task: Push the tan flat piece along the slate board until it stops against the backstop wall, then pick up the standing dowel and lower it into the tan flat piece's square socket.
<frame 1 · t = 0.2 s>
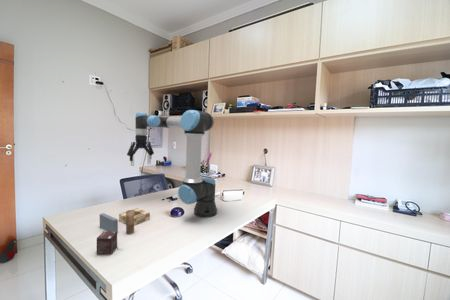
hand: (141, 164, 149), 28 cm above the table, fingers open, 13 cm apart
dowel: (130, 234, 104), on the table
box: (107, 251, 90), on the table
board wall: (128, 224, 115), on the table
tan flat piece: (134, 216, 118), point 3 cm above the table, slide at 0.0 cm
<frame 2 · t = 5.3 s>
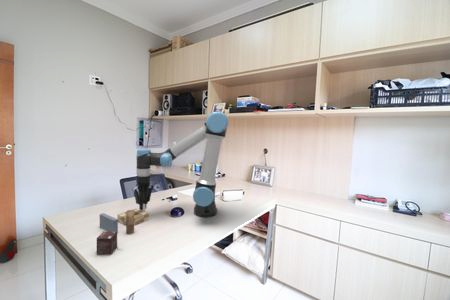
hand: (142, 214, 123), 3 cm above the table, fingers closed
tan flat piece: (133, 217, 117), point 3 cm above the table, slide at 0.9 cm, touching gripper
everything else where it was.
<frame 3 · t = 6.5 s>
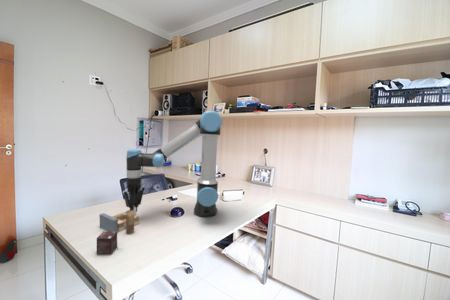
hand: (133, 218, 118), 3 cm above the table, fingers closed
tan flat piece: (122, 221, 112), point 3 cm above the table, slide at 7.0 cm, touching gripper
everything else where it was.
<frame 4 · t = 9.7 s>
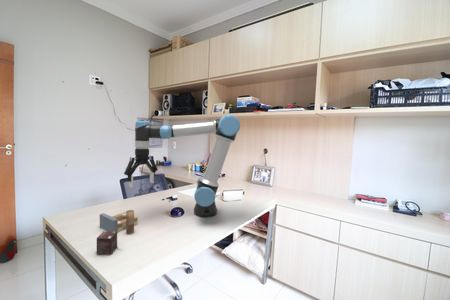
hand: (141, 185, 120), 21 cm above the table, fingers open, 13 cm apart
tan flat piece: (121, 221, 111), point 3 cm above the table, slide at 8.0 cm
everything else where it was.
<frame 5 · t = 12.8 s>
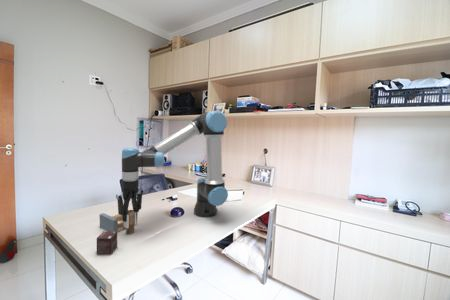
hand: (130, 225, 104), 5 cm above the table, fingers closed on dowel, 3 cm apart
dowel: (130, 234, 104), on the table, touching gripper
everything else where it was.
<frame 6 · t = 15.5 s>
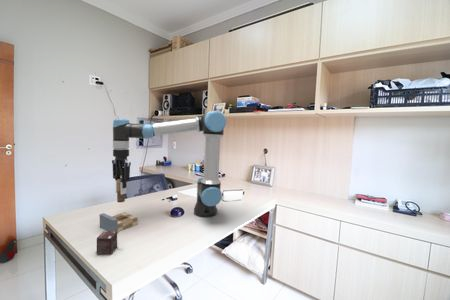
hand: (121, 192, 110), 19 cm above the table, fingers closed on dowel, 3 cm apart
dowel: (121, 201, 110), point 14 cm above the table, touching gripper
everything else where it was.
when the fingers open (7 cm above the table, at t = 18.3 s): dowel drops 1 cm, resting on board wall.
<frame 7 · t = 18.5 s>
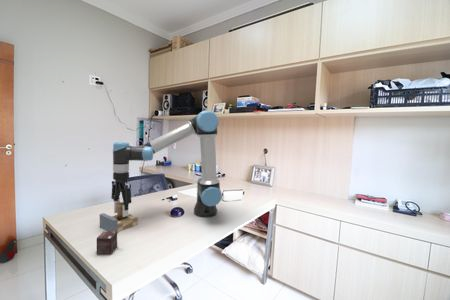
hand: (121, 214, 111), 7 cm above the table, fingers open, 7 cm apart
dowel: (121, 225, 111), point 1 cm above the table, touching board wall
everything else where it was.
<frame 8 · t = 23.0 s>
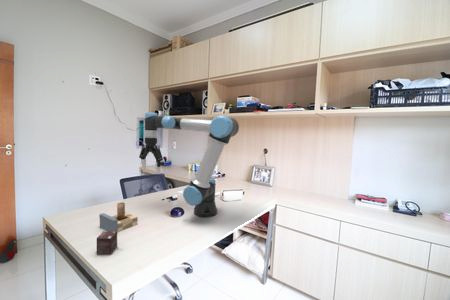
hand: (150, 170, 133), 27 cm above the table, fingers open, 13 cm apart
nothing on the table moved.
at the end: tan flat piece slide at 8.0 cm; dowel 0.1 cm off-centre on the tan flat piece, point 0.0 cm above the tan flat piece's base; dowel tilted 1° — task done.
